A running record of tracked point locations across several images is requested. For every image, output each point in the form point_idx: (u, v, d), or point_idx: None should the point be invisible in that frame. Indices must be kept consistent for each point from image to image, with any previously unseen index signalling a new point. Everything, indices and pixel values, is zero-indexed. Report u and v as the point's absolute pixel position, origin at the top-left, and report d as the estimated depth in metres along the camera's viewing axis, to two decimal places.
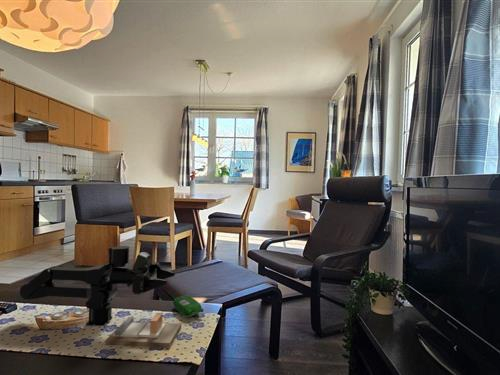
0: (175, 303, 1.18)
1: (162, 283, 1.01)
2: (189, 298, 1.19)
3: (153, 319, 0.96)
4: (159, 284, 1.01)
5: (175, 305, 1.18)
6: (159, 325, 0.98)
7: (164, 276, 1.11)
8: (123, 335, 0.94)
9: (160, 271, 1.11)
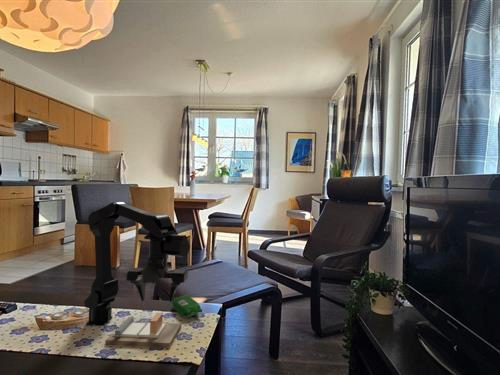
0: (174, 303, 1.17)
1: None
2: (188, 298, 1.18)
3: (153, 319, 0.96)
4: None
5: (174, 305, 1.17)
6: (159, 325, 0.98)
7: None
8: (123, 335, 0.94)
9: None
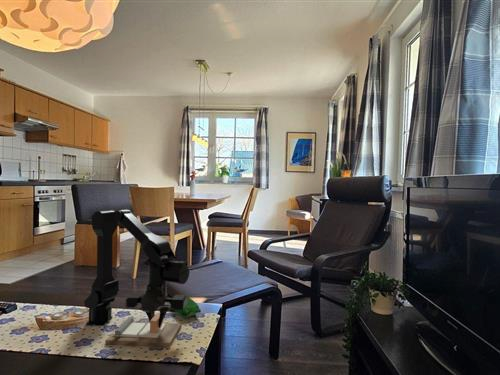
0: None
1: None
2: None
3: (153, 319, 0.96)
4: None
5: None
6: None
7: None
8: (123, 335, 0.94)
9: None
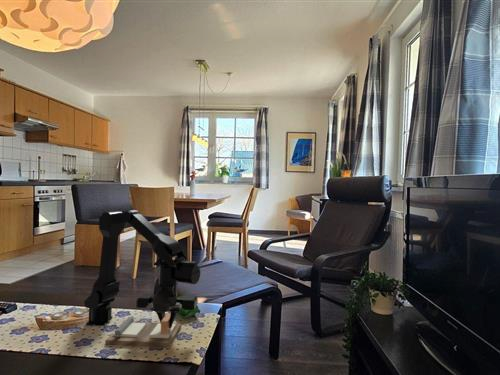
0: None
1: None
2: None
3: (164, 319, 0.95)
4: None
5: None
6: None
7: None
8: (123, 335, 0.94)
9: None
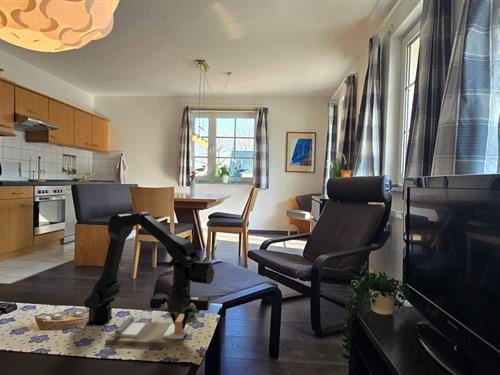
0: None
1: None
2: None
3: (177, 320, 0.95)
4: None
5: None
6: None
7: None
8: (123, 335, 0.94)
9: None
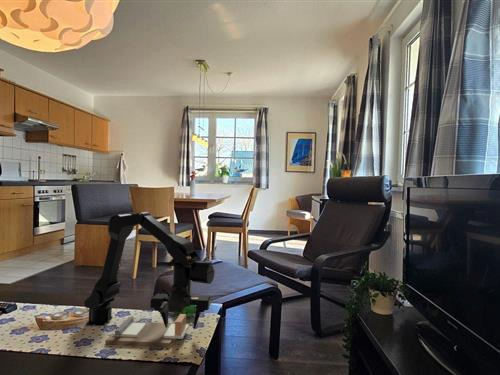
0: None
1: None
2: None
3: (178, 320, 0.95)
4: None
5: None
6: (183, 326, 0.97)
7: None
8: (123, 335, 0.94)
9: None
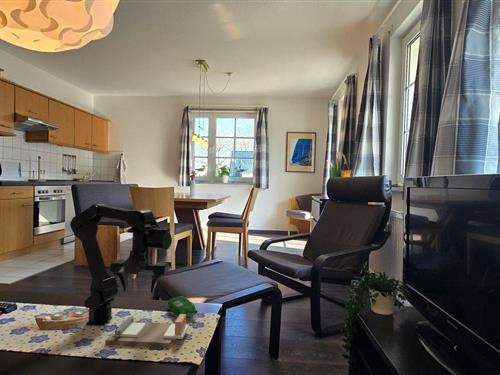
0: (169, 304, 1.17)
1: None
2: (183, 299, 1.17)
3: (178, 320, 0.95)
4: None
5: (169, 306, 1.17)
6: (183, 326, 0.97)
7: None
8: (123, 335, 0.94)
9: None
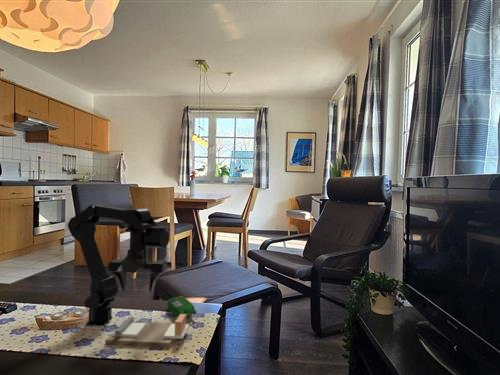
0: (169, 304, 1.16)
1: None
2: (182, 299, 1.17)
3: (178, 320, 0.95)
4: None
5: (169, 306, 1.16)
6: (183, 326, 0.97)
7: None
8: (123, 335, 0.94)
9: None
